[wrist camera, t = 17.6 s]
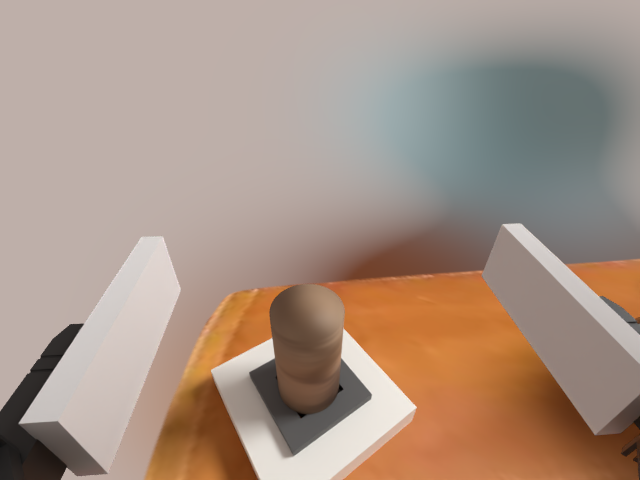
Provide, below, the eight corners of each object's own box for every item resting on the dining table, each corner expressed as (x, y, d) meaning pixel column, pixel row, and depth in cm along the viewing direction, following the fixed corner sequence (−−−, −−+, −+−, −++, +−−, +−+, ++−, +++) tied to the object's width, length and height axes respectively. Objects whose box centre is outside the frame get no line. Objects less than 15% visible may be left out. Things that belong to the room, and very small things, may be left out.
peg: (316, 365, 42) (317, 275, 33) (349, 408, 38) (360, 317, 29) (270, 393, 39) (256, 302, 30) (299, 444, 35) (294, 355, 25)
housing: (325, 323, 48) (326, 305, 46) (411, 420, 37) (418, 402, 35) (215, 384, 40) (209, 365, 38) (281, 531, 29) (278, 517, 27)
